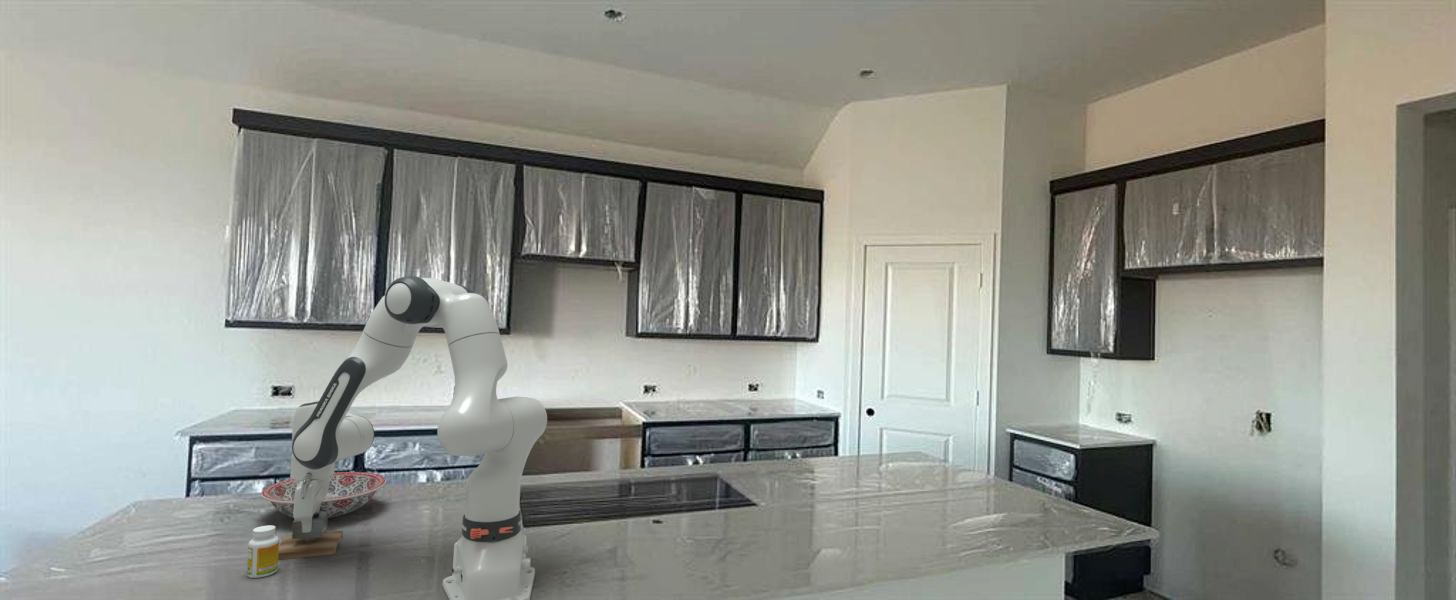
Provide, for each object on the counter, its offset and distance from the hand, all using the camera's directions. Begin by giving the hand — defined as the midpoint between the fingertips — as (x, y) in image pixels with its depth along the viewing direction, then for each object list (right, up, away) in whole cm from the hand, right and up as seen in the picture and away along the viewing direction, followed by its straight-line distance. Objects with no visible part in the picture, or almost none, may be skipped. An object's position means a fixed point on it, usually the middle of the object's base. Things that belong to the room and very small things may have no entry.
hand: (310, 526), depth 152 cm
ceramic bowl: (-11, -5, +23) cm, 26 cm away
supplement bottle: (-1, -5, -15) cm, 16 cm away
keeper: (0, -5, 0) cm, 5 cm away
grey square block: (0, -2, 0) cm, 2 cm away
